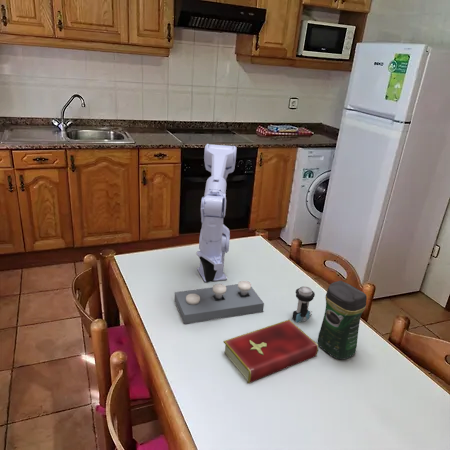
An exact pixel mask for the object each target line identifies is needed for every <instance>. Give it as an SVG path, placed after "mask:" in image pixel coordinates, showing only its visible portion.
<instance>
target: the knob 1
mask: <svg viewBox="0 0 450 450" xmlns="http://www.w3.org/2000/svg"><path fill="white" fill-rule="evenodd" d="M186 302H187V303H188V304H189V305H196V304H198V303H199V302H200V296H199V295H197V294H188V295H187V296H186Z"/></svg>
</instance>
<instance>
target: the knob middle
mask: <svg viewBox="0 0 450 450" xmlns="http://www.w3.org/2000/svg"><path fill="white" fill-rule="evenodd" d="M226 286H227V285H224V284H223V283H216V284H214V285H213V286H212V287H213V293H215V294H216V298H218V299H221V298H222V295H223V294H225V293H226Z"/></svg>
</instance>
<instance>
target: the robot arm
mask: <svg viewBox="0 0 450 450" xmlns="http://www.w3.org/2000/svg"><path fill="white" fill-rule="evenodd" d="M237 149H238V148H237V146H236V145H224V144H223V145H222V144H211V143H210V144H209V143H206V145H205V146H204V155H203V159H204V160H203V161H204V168H205V170H206V171H208V172H209V173H210V174H211V175H210V176H209V177H208V178H207V180H206V181H205V182H206V183H205V188H204V189H205V190H204V194H203V195H204V196H202V197H201V200H200V201H201V202H200V218H201V220H200V222H201V229H200V234H199V238H198V239H199V243H198V249H199V250H197V251H196V256H198V258H199V266H198V267H197V268H196V269H197V271H198V273H199V275H200V277H201V279H202V280H203V282H204V283H208V282H209V283H210V282H217V281H225V280H227V279H228V277H227V275H226V274H225V272H224V271H225V270H224V269H225V268H224V267H225V255H226V254H228V252H229V250H230V238H231V234H230V232H231V231H230V228H228V227H227V226H226V225H225V224H224V217H225V216H226V211H227V210H226V209H227V197H226V195H227V194H226V193H227V191H226V190H227V178H228V175H229V174H232V173H234V171H235V166H236V160H237Z"/></svg>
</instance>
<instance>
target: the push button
mask: <svg viewBox="0 0 450 450" xmlns="http://www.w3.org/2000/svg"><path fill="white" fill-rule="evenodd" d="M295 297H296V298H297V300H298V301H297V307H296V310H294V311H292V316H291V318H292V320H293V321H295V322H296V323H298V324H299V323H301V322H306V321H307V320H309V319H310V316H312V315H313V314H312V313H313V311H312V310H309V306H310V302H312V301H314V297H316V294H315V291H313V289H312V288H311V287H309V286H301V287H299V288H297V289H296V290H295Z"/></svg>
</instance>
